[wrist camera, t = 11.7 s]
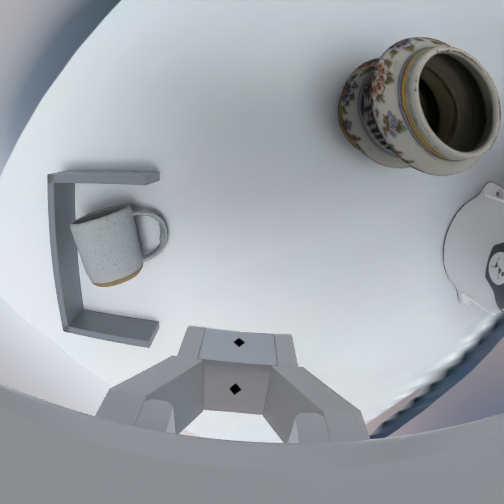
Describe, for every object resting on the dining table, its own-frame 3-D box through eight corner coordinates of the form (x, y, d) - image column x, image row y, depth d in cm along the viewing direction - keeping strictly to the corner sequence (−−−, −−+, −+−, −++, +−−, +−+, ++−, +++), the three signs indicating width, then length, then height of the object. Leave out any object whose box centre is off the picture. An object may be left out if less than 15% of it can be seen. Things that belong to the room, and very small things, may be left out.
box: (159, 172, 36) (145, 175, 31) (159, 327, 42) (149, 347, 38) (68, 170, 36) (47, 174, 31) (79, 314, 42) (63, 331, 37)
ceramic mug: (105, 271, 40) (80, 295, 33) (88, 213, 37) (57, 227, 30) (177, 257, 39) (162, 281, 32) (161, 193, 37) (140, 204, 30)
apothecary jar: (321, 152, 35) (379, 155, 18) (336, 58, 31) (396, -4, 14) (411, 175, 36) (506, 199, 18) (424, 87, 32) (518, 63, 15)
